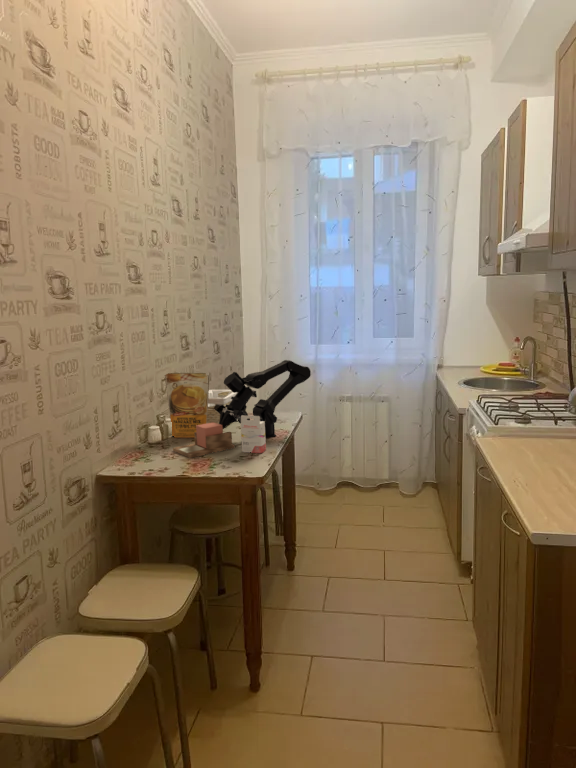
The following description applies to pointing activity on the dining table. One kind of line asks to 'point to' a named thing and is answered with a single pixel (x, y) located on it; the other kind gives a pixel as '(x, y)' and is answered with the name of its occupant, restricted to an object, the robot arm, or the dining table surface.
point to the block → (207, 432)
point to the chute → (207, 445)
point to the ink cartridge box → (253, 434)
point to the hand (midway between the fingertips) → (219, 429)
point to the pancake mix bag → (187, 402)
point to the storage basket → (214, 399)
